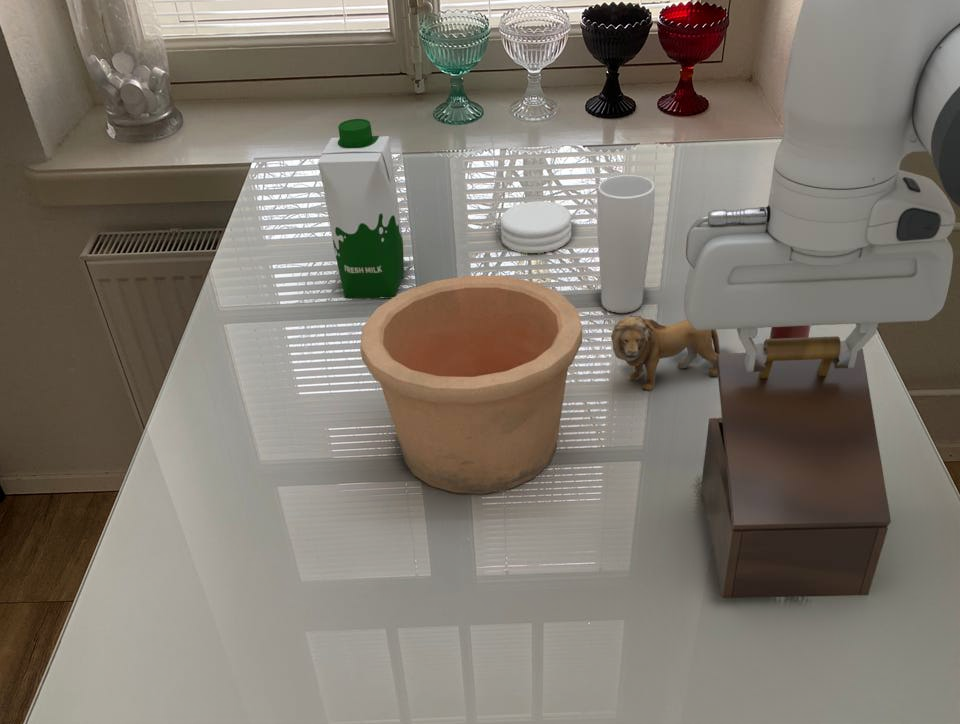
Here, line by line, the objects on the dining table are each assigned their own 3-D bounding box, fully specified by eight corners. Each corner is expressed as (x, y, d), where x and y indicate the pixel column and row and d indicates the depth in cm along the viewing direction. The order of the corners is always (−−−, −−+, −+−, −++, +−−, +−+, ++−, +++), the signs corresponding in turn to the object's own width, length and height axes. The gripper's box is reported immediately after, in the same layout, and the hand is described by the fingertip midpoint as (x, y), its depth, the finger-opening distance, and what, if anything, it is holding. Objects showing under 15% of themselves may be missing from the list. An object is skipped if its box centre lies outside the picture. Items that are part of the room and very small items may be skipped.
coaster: (549, 260, 137) (549, 235, 134) (488, 247, 141) (486, 223, 138) (583, 231, 142) (583, 206, 140) (523, 219, 146) (522, 195, 144)
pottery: (367, 411, 114) (346, 294, 104) (552, 378, 116) (550, 260, 106) (395, 528, 99) (374, 405, 89) (606, 488, 101) (610, 364, 91)
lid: (716, 359, 89) (724, 321, 84) (860, 354, 88) (877, 314, 83) (732, 530, 82) (742, 498, 78) (888, 526, 81) (908, 494, 77)
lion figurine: (622, 406, 111) (625, 333, 105) (600, 383, 115) (602, 312, 108) (735, 371, 115) (744, 299, 108) (710, 350, 118) (718, 279, 111)
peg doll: (799, 351, 117) (816, 262, 109) (806, 371, 114) (824, 280, 106) (763, 353, 117) (777, 264, 109) (769, 372, 114) (783, 282, 106)
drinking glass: (643, 320, 124) (650, 199, 113) (590, 315, 126) (591, 196, 115) (652, 294, 128) (659, 175, 117) (600, 290, 130) (603, 172, 119)
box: (700, 491, 100) (709, 417, 94) (828, 488, 99) (845, 413, 93) (721, 607, 89) (732, 532, 82) (865, 604, 88) (888, 528, 81)
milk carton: (411, 270, 138) (392, 116, 123) (400, 302, 131) (379, 144, 117) (350, 271, 139) (324, 118, 124) (336, 303, 132) (307, 146, 118)
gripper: (693, 230, 73) (679, 391, 83) (979, 215, 72) (929, 382, 82) (684, 194, 78) (672, 352, 88) (954, 180, 76) (910, 342, 86)
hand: (798, 366), depth 85 cm, fingers closed on lid, 6 cm apart
